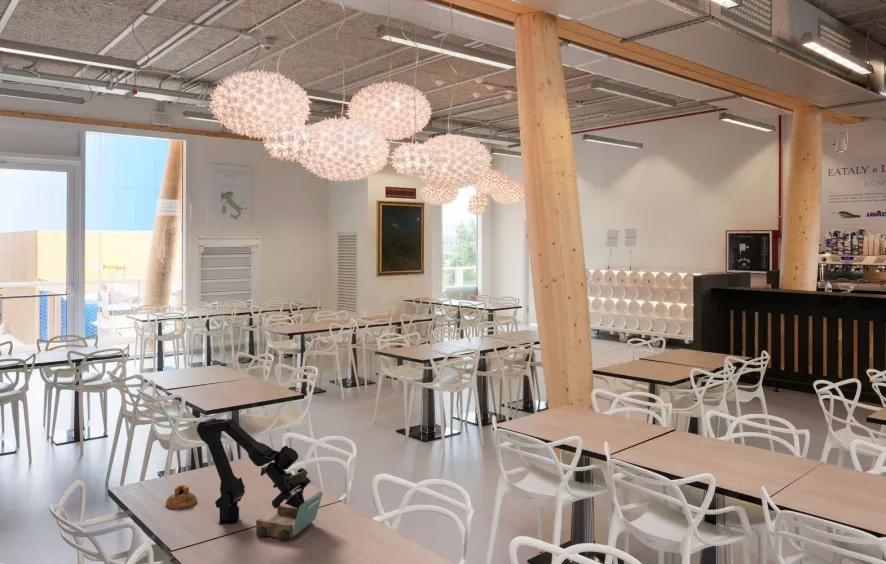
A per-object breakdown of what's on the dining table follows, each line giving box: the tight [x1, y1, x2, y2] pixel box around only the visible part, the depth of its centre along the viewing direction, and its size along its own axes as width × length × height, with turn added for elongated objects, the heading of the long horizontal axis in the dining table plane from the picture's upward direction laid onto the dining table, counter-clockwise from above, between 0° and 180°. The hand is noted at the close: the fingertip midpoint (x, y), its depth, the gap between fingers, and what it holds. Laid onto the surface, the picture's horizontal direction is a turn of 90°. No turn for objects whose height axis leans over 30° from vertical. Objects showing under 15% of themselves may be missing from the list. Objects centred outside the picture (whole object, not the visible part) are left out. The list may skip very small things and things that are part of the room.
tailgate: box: [292, 490, 324, 536], centre depth 237 cm, size 2×15×11 cm, turn 163°
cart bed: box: [255, 504, 313, 542], centre depth 240 cm, size 14×17×6 cm
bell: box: [165, 484, 198, 510], centre depth 263 cm, size 12×12×7 cm
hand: (306, 510), depth 237 cm, fingers closed, pressing on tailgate
